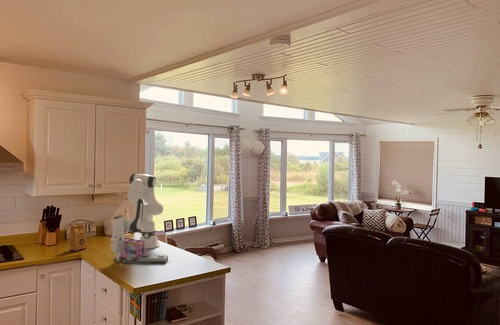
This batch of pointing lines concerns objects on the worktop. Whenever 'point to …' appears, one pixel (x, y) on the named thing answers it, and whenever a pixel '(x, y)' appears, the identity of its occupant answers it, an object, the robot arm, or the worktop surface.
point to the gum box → (133, 248)
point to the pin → (119, 256)
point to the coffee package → (77, 237)
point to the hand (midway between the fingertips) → (118, 255)
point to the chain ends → (147, 259)
